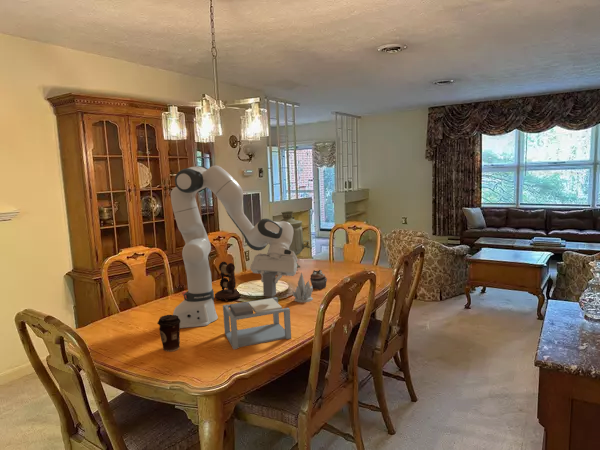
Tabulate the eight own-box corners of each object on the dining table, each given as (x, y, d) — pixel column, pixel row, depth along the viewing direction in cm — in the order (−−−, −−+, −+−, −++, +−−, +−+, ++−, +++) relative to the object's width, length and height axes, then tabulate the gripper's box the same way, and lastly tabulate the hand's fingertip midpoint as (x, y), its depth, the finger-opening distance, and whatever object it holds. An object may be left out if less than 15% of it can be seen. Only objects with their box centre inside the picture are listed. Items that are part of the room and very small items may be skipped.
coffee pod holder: (247, 297, 229) (245, 261, 227) (225, 303, 219) (222, 266, 217) (231, 292, 240) (229, 258, 237) (209, 298, 229) (207, 263, 227)
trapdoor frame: (233, 349, 162) (231, 318, 161) (224, 333, 179) (222, 305, 177) (291, 338, 171) (289, 309, 169) (277, 323, 187) (276, 297, 186)
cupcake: (313, 290, 237) (312, 273, 236) (308, 285, 246) (308, 269, 245) (329, 288, 239) (328, 271, 238) (324, 284, 249) (323, 267, 247)
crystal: (317, 296, 225) (316, 269, 223) (306, 304, 213) (305, 275, 211) (301, 294, 230) (300, 268, 228) (289, 302, 218) (288, 274, 216)
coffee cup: (160, 354, 160) (157, 322, 159) (158, 346, 168) (155, 315, 166) (183, 350, 164) (181, 318, 162) (181, 342, 171) (178, 312, 169)
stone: (272, 296, 173) (271, 275, 172) (263, 296, 174) (262, 275, 173) (276, 294, 177) (275, 273, 175) (267, 293, 178) (266, 272, 177)
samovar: (297, 276, 270) (294, 214, 264) (265, 272, 284) (262, 214, 279) (320, 266, 294) (318, 210, 289) (290, 263, 308) (287, 209, 303)
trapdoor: (236, 320, 164) (236, 313, 164) (230, 310, 176) (229, 303, 176) (282, 312, 171) (281, 306, 170) (273, 303, 183) (272, 297, 182)
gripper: (253, 249, 183) (244, 276, 175) (297, 251, 176) (289, 280, 168) (258, 257, 188) (249, 284, 180) (300, 259, 181) (293, 287, 173)
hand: (268, 282), depth 174 cm, fingers closed on stone, 4 cm apart
